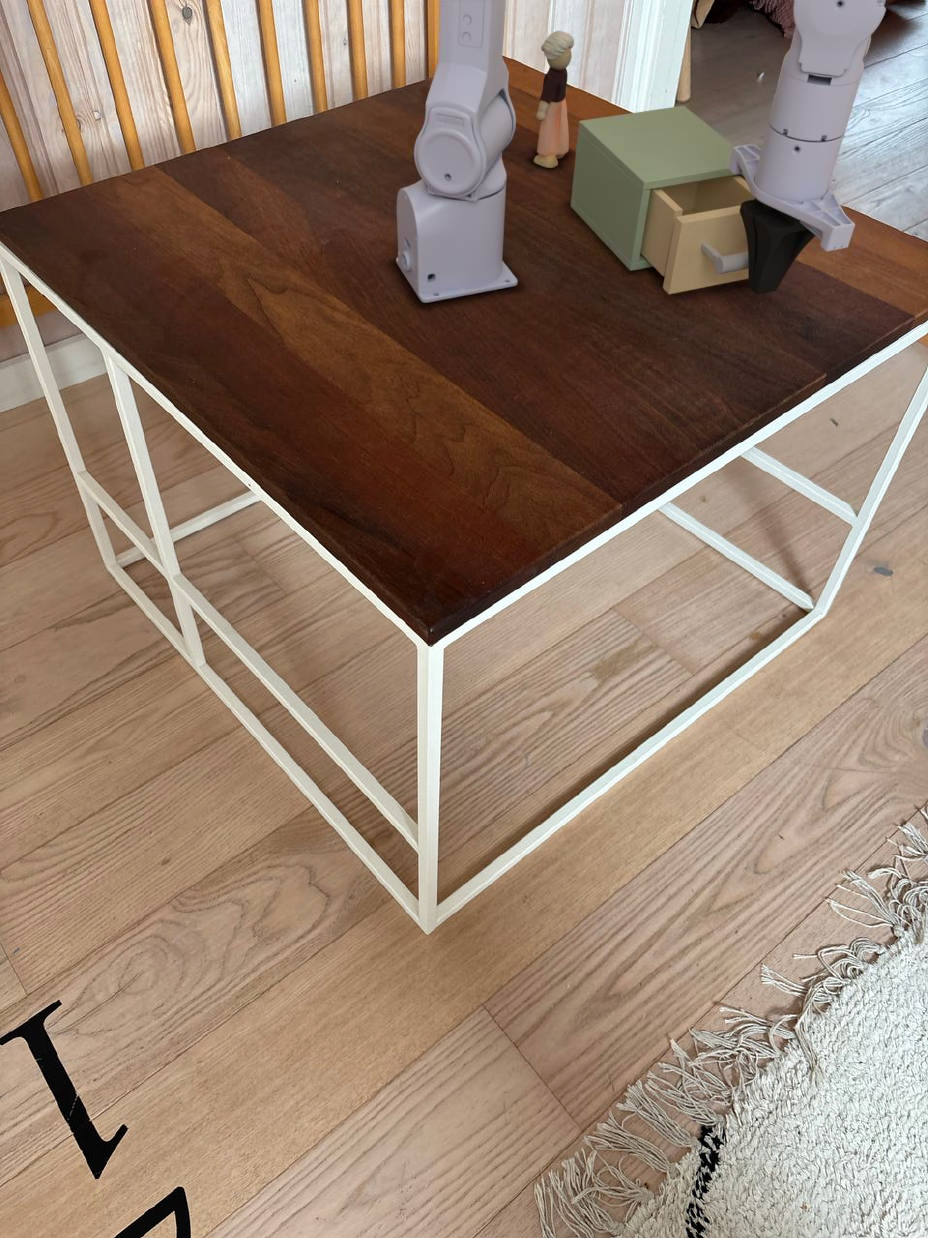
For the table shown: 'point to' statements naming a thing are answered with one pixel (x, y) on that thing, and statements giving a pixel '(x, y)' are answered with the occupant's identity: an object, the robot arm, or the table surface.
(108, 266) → the table surface
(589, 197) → the cabinet
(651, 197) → the drawer
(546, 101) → the grandmother figurine
